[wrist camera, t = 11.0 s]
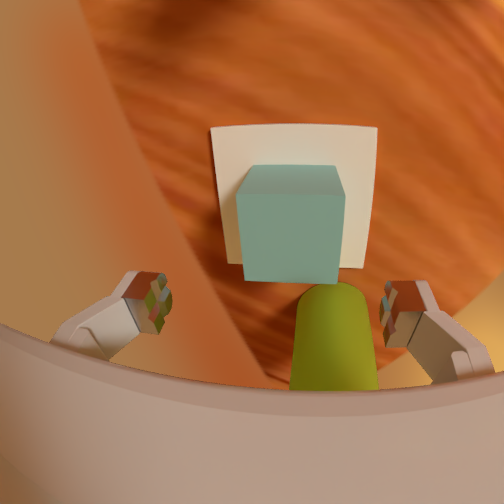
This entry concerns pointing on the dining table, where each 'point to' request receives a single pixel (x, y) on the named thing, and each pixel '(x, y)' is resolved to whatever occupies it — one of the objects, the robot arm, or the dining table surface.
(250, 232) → the block
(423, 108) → the dining table surface
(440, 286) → the dining table surface
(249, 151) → the coaster
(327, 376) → the soap dispenser
